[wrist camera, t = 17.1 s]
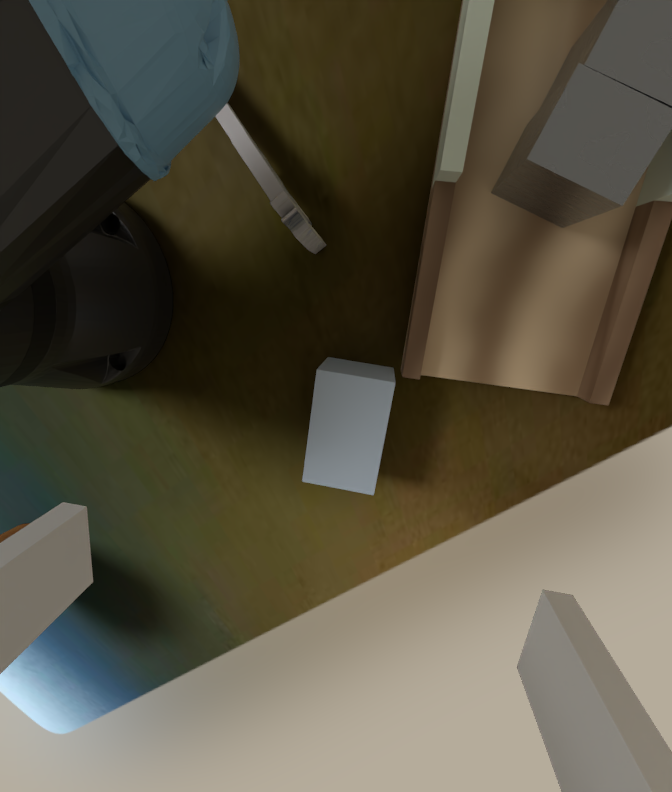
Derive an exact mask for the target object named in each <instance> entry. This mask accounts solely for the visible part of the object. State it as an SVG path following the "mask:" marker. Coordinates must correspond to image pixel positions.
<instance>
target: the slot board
mask: <svg viewBox="0 0 672 792" xmlns="http://www.w3.org/2000/svg"><path fill="white" fill-rule="evenodd" d="M607 1H608V0H495V1H494V6H493V12H492V17H491V22H490V28H489V33H488V38H487V44H486V49H485V55H484V60H483V65H482V71H481V76H480V81H479V87H478V92H477V98H476V103H475V108H474V114H473V119H472V124H471V130H470V135H469V141H468V146H467V151H466V157H465V162H464V167H463V172H462V174H461V175H460V177H459V178H458V180H457V182H446V181H435V182H434V185H433V187H432V184H433V178H434V172H435V166H436V160H437V154H438V148H439V143H440V137H441V131H442V125H443V119H444V113H445V107H446V101H447V95H448V89H449V83H450V77H451V71H452V65H453V59H454V53H455V47H456V41H457V35H458V29H459V23H460V17H461V11H462V5H463V0H462V4H461V10H460V16H459V22H458V28H457V34H456V40H455V46H454V52H453V58H452V64H451V70H450V76H449V82H448V88H447V94H446V100H445V106H444V112H443V118H442V124H441V130H440V136H439V142H438V148H437V154H436V160H435V166H434V172H433V178H432V184H431V190H430V196H429V202H428V208H427V214H426V220H425V226H424V232H423V238H422V244H421V250H420V256H419V262H418V268H417V274H416V280H415V286H414V292H413V298H412V305H411V311H410V317H409V323H408V329H407V335H406V341H405V347H404V353H403V359H402V365H401V374H402V377H405V378H412V379H420V376H421V375H424V376H432V377H439V378H446V379H454V380H461V381H468V382H476V383H483V384H490V385H498V386H505V387H512V388H520V389H527V390H534V391H542V392H549V393H556V394H563V395H571V396H577V397H579V398H581V399H583V400H585V401H587V402H589V403H594V404H601V405H609V403H610V400H611V397H612V394H613V391H614V388H615V385H616V382H617V379H618V376H619V373H620V370H621V367H622V364H623V361H624V358H625V355H626V352H627V350H628V347H629V344H630V341H631V338H632V335H633V332H634V329H635V326H636V323H637V320H638V317H639V314H640V311H641V308H642V305H643V302H644V299H645V296H646V293H647V290H648V287H649V284H650V282H651V279H652V276H653V273H654V270H655V267H656V264H657V261H658V258H659V255H660V252H661V249H662V246H663V243H664V240H665V237H666V234H667V231H668V228H669V225H670V222H671V219H672V202H668V201H656V200H654V201H651V202H648V203H645V204H642V205H640V206H637V207H636V204H637V201H638V198H639V195H640V191H641V188H642V185H643V182H644V179H645V175H646V172H647V169H648V167H647V169H646V170H645V172H644V173H643V175H642V176H641V178H640V179H639V181H638V183H637V184H636V186H635V187H634V189H633V190H632V192H631V194H630V195H629V197H628V198H627V200H626V201H625V203H624V205H623V206H621V207H618V208H616V209H613V210H610V211H608V212H605V213H602V214H599V215H597V216H594V217H591V218H589V219H586V220H583V221H580V222H578V223H575V224H572V225H570V226H567V227H564V228H561V227H559V226H557V225H555V224H553V223H551V222H549V221H547V220H545V219H543V218H541V217H539V216H537V215H535V214H533V213H531V212H529V211H527V210H525V209H522V208H520V207H518V206H516V205H514V204H512V203H510V202H508V201H506V200H504V199H502V198H500V197H498V196H496V195H494V194H492V193H491V192H492V190H493V188H494V186H495V184H496V182H497V180H498V178H499V176H500V175H501V173H502V171H503V169H504V167H505V165H506V163H507V161H508V159H509V158H510V156H511V154H512V152H513V150H514V148H515V146H516V144H517V142H518V141H519V139H520V137H521V135H522V133H523V131H524V129H525V127H526V125H527V124H528V123H529V121H530V120H531V119H532V118H533V117H534V115H535V114H536V113H537V112H538V111H539V109H540V107H541V105H542V103H543V101H544V100H545V98H546V96H547V94H548V92H549V90H550V88H551V86H552V84H553V82H554V80H555V78H556V76H557V74H558V73H559V71H560V69H561V67H562V65H563V63H564V61H565V59H566V57H567V55H568V53H569V51H570V49H571V48H572V46H573V45H574V44H575V43H576V41H577V40H578V39H579V37H580V36H581V35H582V33H583V32H584V31H585V29H586V28H587V27H588V25H589V24H590V23H591V22H592V20H593V19H594V18H595V16H596V15H597V14H598V12H599V11H600V10H601V8H602V7H603V6H604V5H605V3H606V2H607ZM648 166H649V165H648Z"/></svg>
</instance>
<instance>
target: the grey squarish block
mask: <svg viewBox="0 0 672 792" xmlns="http://www.w3.org/2000/svg"><path fill="white" fill-rule="evenodd" d="M671 129H672V108H670V107H668V106H666V105H664V104H662V103H660V102H658V101H656V100H654V99H652V98H650V97H648V96H646V95H644V94H642V93H640V92H638V91H636V90H633V89H631V88H629V87H627V86H625V85H623V84H621V83H619V82H617V81H615V80H613V79H611V78H609V77H607V76H605V75H603V74H601V73H599V72H597V71H595V70H593V69H591V68H589V67H587V66H585V65H583V64H580V63H578V65H577V66H576V67H575V68H574V69H573V71H572V72H571V73H570V74H569V75H568V76H567V78H566V79H565V80H564V81H563V82H562V84H561V85H560V86H559V87H558V88H557V89H556V91H555V92H554V93H553V94H552V95H551V97H550V98H549V99H548V100H547V101H546V102H545V104H544V105H543V106H542V107H541V108H540V110H539V111H538V112H537V113H536V114H535V115H534V117H533V118H532V119H531V120H530V121H529V123H528V124H527V125H526V127H525V129H524V131H523V133H522V135H521V137H520V139H519V141H518V142H517V144H516V146H515V148H514V150H513V152H512V154H511V156H510V158H509V159H508V161H507V163H506V165H505V167H504V169H503V171H502V173H501V175H500V176H499V178H498V180H497V182H496V184H495V186H494V188H493V190H492V192H491V193H492V194H494V195H496V196H498V197H500V198H502V199H504V200H506V201H508V202H510V203H512V204H514V205H516V206H518V207H520V208H522V209H525V210H527V211H529V212H531V213H533V214H535V215H537V216H539V217H541V218H543V219H545V220H547V221H549V222H551V223H553V224H555V225H557V226H559V227H561V228H564V227H567V226H570V225H572V224H575V223H578V222H580V221H583V220H586V219H589V218H591V217H594V216H597V215H599V214H602V213H605V212H608V211H610V210H613V209H616V208H618V207H621V206H623V205H624V203H625V201H626V200H627V198H628V197H629V195H630V194H631V192H632V190H633V189H634V187H635V186H636V184H637V183H638V181H639V179H640V178H641V176H642V175H643V173H644V172H645V170H646V169H647V167H648V165H649V164H650V162H651V161H652V159H653V158H654V156H655V154H656V153H657V151H658V150H659V148H660V147H661V145H662V143H663V142H664V140H665V139H666V137H667V136H668V134H669V132H670V131H671Z"/></svg>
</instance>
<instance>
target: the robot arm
mask: <svg viewBox="0 0 672 792" xmlns="http://www.w3.org/2000/svg"><path fill="white" fill-rule="evenodd" d="M238 71H239V45H238V37H237V33H236V29H235V24H234V20H233V17H232V14H231V10H230V7H229V5H228V2H227V0H0V387H2V386H6V385H25V386H40V387H54V388H69V389H88V388H96V387H101V386H105V385H108V384H111V383H114V382H117V381H120V380H123V379H126V378H129V377H131V376H133V375H135V374H136V373H138V372H140V371H141V370H142V369H144V368H145V367H146V366H147V365H148V364H149V363H150V362H151V361H152V360H153V359H154V358H155V356H156V355H157V354H158V352H159V351H160V349H161V348H162V346H163V344H164V342H165V339H166V337H167V334H168V331H169V328H170V324H171V319H172V311H173V292H172V284H171V278H170V274H169V270H168V266H167V263H166V260H165V258H164V255H163V253H162V251H161V248H160V246H159V244H158V242H157V241H156V239H155V237H154V236H153V234H152V232H151V231H150V229H149V228H148V227H147V225H146V224H145V223H144V221H143V220H142V219H141V218H140V217H139V216H138V215H137V214H136V212H135V211H134V210H132V209H131V208H130V207H129V206H128V205H127V204H126V203H124V202H125V201H126V200H128V199H129V198H130V197H131V196H132V195H133V194H134V193H135V192H137V191H138V190H139V189H140V188H141V187H142V186H143V185H145V184H146V183H147V182H148V181H149V180H150V179H152V180H154V181H156V180H157V179H161V178H163V177H164V176H166V175H167V174H168V173H169V170H170V167H171V160H172V159H173V158H174V157H175V156H176V155H177V154H178V153H179V152H180V151H181V150H182V149H183V148H184V147H185V146H186V145H187V144H188V143H189V142H190V141H191V140H192V139H193V138H194V137H195V136H196V135H197V134H198V133H199V132H200V131H201V130H202V129H203V128H204V127H205V126H206V125H207V124H208V123H209V122H210V121H211V120H212V119H213V118H214V117H215V116H216V115H217V114H218V113H219V112H220V111H221V110H222V109H223V107H224V106H225V105H226V104H227V102H228V101H229V99H230V97H231V95H232V93H233V91H234V88H235V85H236V82H237V77H238ZM92 583H93V573H92V561H91V550H90V539H89V527H88V516H87V507H86V506H81V505H75V504H70V503H64V502H63V503H61V504H60V505H58V506H56V507H55V508H53V509H52V510H50V511H49V512H47V513H46V514H44V515H43V516H41V517H40V518H38V519H36V520H35V521H33V522H32V523H30V524H29V525H27V526H26V527H24V528H23V529H21V530H19V531H18V532H16V533H15V534H13V535H12V536H10V537H9V538H7V539H6V540H4V541H3V542H1V543H0V674H1V673H2V672H3V671H4V670H5V669H6V668H7V667H8V666H9V665H10V664H11V663H12V662H13V661H14V660H15V659H16V658H17V657H18V656H19V655H20V654H21V653H22V652H23V651H24V650H25V649H26V648H27V647H28V646H29V645H30V644H31V643H32V642H33V641H34V640H35V639H36V638H37V637H38V636H39V635H40V634H41V633H42V632H43V631H44V630H45V629H46V628H47V627H48V626H49V625H50V624H51V623H52V622H53V621H54V620H55V619H56V618H57V617H58V616H59V615H60V614H61V613H62V612H63V611H64V610H65V609H66V608H67V607H68V606H69V605H70V604H71V603H72V602H73V601H74V600H75V599H76V598H77V597H78V596H79V595H80V594H81V593H82V592H83V591H84V590H85V589H86V588H87V587H89V586H90V585H91V584H92ZM517 669H518V671H519V674H520V677H521V680H522V683H523V685H524V688H525V691H526V694H527V697H528V699H529V702H530V705H531V708H532V710H533V713H534V716H535V719H536V722H537V724H538V727H539V730H540V733H541V735H542V738H543V741H544V744H545V747H546V749H547V752H548V755H549V758H550V761H551V763H552V766H553V769H554V772H555V775H556V777H557V780H558V783H559V786H560V788H561V791H562V792H672V752H671V750H670V749H669V747H668V745H667V744H666V742H665V741H664V739H663V738H662V736H661V734H660V733H659V731H658V730H657V728H656V726H655V725H654V723H653V722H652V720H651V718H650V717H649V715H648V714H647V712H646V711H645V709H644V707H643V706H642V704H641V703H640V701H639V700H638V698H637V696H636V695H635V693H634V692H633V690H632V689H631V687H630V685H629V684H628V682H627V681H626V679H625V677H624V676H623V674H622V672H621V671H620V669H619V668H618V666H617V665H616V663H615V661H614V660H613V658H612V657H611V655H610V653H609V652H608V650H607V649H606V647H605V645H604V644H603V642H602V641H601V639H600V638H599V636H598V635H597V633H596V631H595V630H594V628H593V626H592V625H591V623H590V622H589V620H588V619H587V617H586V615H585V614H584V612H583V611H582V609H581V608H580V606H579V604H578V603H577V601H576V599H575V598H574V596H573V595H570V594H564V593H558V592H553V591H547V590H542V593H541V596H540V599H539V602H538V606H537V608H536V611H535V614H534V617H533V620H532V623H531V626H530V629H529V632H528V635H527V638H526V641H525V644H524V647H523V650H522V653H521V656H520V659H519V663H518V665H517Z"/></svg>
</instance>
